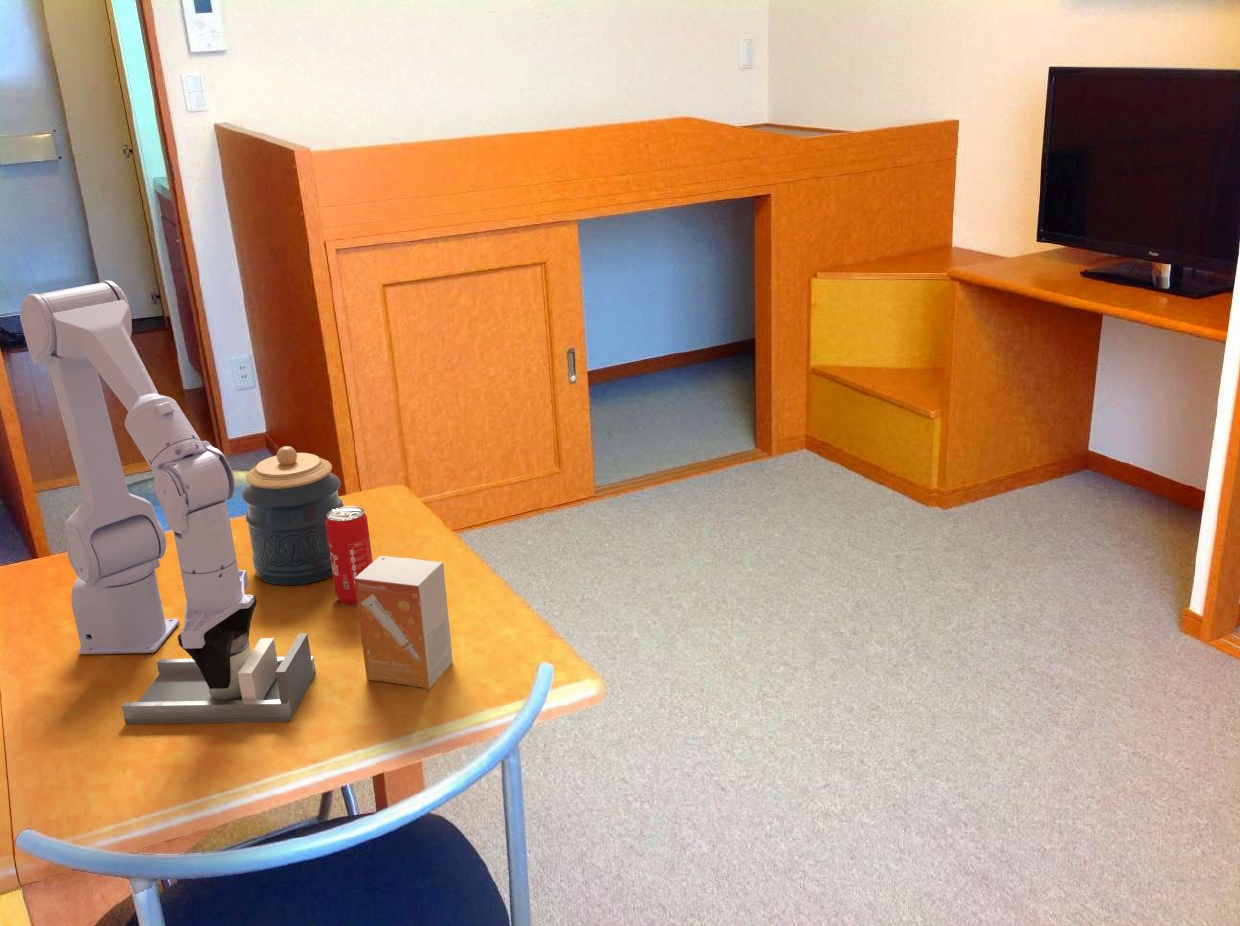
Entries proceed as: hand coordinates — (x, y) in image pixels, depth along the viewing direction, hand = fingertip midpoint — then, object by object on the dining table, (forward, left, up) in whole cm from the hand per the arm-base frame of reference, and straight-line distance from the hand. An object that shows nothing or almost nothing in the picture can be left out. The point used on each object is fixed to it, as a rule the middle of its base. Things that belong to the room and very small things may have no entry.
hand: (228, 674), depth 129 cm
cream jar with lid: (0, 0, -2) cm, 2 cm away
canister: (-2, +34, -3) cm, 34 cm away
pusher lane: (-1, 0, -3) cm, 3 cm away
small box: (+19, +5, -3) cm, 20 cm away
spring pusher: (+4, 0, -3) cm, 5 cm away
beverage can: (+8, +24, -3) cm, 25 cm away
